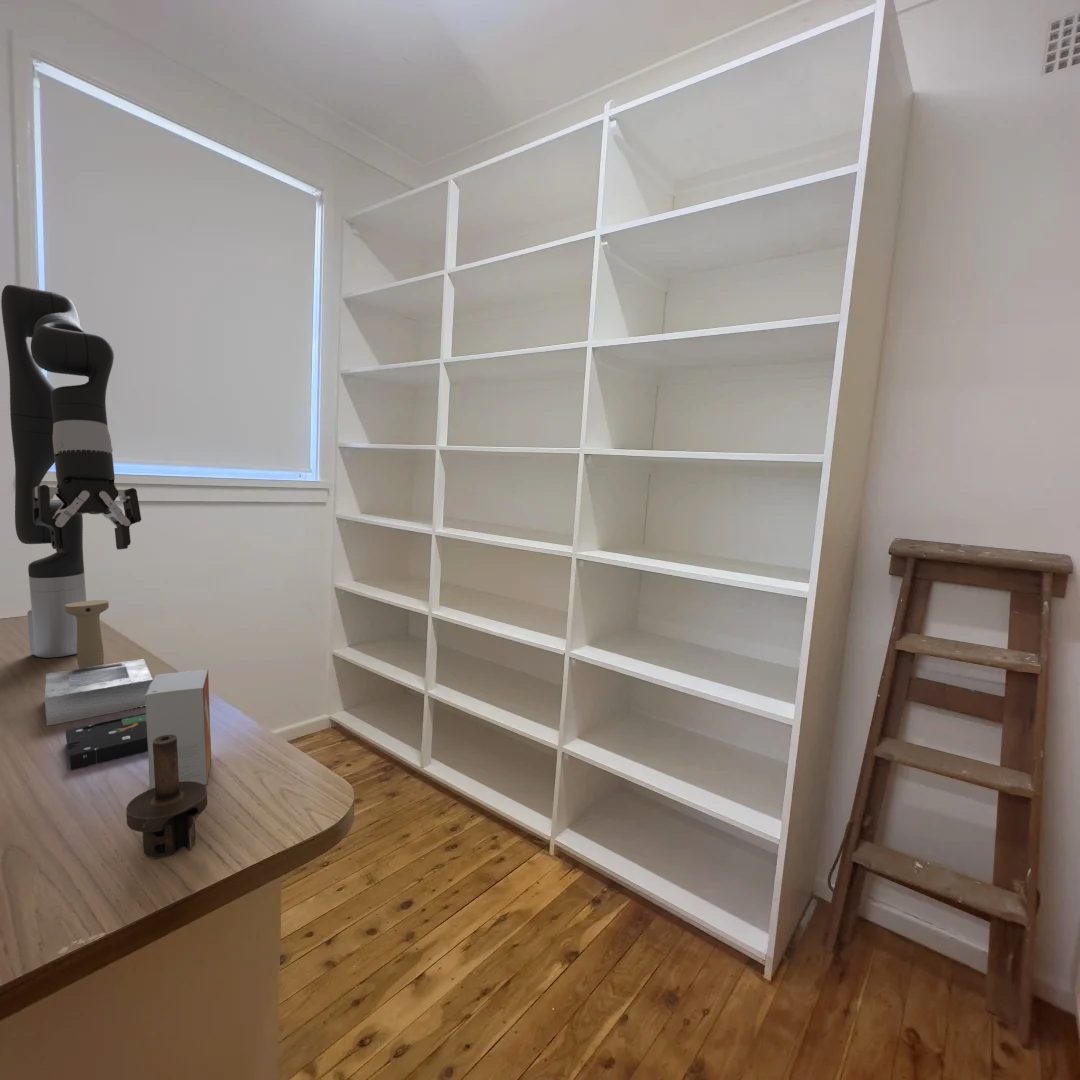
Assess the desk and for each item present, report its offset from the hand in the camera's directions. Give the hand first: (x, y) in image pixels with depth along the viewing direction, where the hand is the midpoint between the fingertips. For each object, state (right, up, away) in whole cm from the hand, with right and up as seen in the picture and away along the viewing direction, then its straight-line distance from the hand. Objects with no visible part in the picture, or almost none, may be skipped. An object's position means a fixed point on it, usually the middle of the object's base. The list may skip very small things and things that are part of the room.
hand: (93, 550), depth 94 cm
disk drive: (+12, -29, -9) cm, 33 cm away
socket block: (-3, -26, +6) cm, 27 cm away
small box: (+26, -30, -18) cm, 43 cm away
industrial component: (+33, -31, -32) cm, 55 cm away
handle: (-12, -25, +15) cm, 32 cm away
